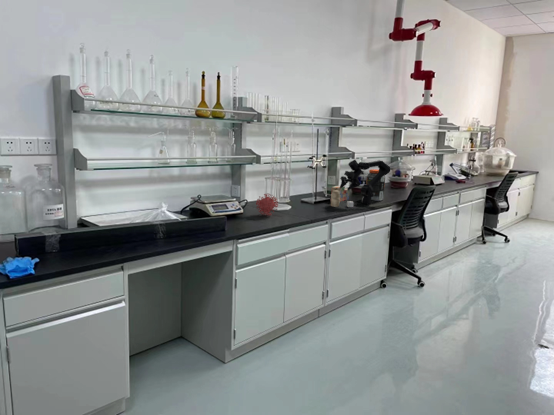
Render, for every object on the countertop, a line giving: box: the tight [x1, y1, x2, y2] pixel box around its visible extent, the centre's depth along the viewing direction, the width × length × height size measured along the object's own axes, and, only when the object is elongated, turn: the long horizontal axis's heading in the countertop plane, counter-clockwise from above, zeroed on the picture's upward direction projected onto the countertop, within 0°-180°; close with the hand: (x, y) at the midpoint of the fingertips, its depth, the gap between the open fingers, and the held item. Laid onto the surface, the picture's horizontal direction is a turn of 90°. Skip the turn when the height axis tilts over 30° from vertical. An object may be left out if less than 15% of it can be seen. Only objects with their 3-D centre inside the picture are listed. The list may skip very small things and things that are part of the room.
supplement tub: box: [366, 168, 386, 202], centre depth 364 cm, size 16×16×26 cm
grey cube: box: [346, 200, 354, 208], centre depth 326 cm, size 4×4×4 cm
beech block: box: [330, 190, 340, 208], centre depth 325 cm, size 4×4×12 cm
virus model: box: [255, 193, 279, 216], centre depth 279 cm, size 15×15×15 cm
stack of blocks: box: [330, 185, 350, 202], centre depth 352 cm, size 21×6×12 cm, turn 144°
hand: (343, 188), depth 327 cm, fingers open, 9 cm apart
